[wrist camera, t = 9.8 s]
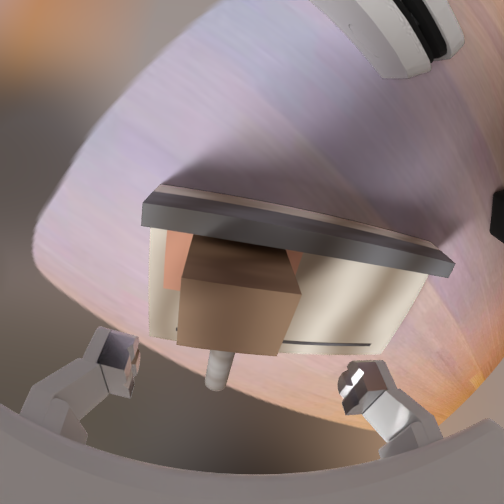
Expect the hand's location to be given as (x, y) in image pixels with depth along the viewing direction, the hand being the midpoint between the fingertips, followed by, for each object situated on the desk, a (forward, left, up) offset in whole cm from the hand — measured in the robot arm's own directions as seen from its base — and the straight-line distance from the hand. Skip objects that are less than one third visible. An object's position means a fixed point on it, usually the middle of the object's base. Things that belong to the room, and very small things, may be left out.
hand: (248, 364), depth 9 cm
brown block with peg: (0, +3, -8) cm, 8 cm away
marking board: (-4, +2, -9) cm, 11 cm away
